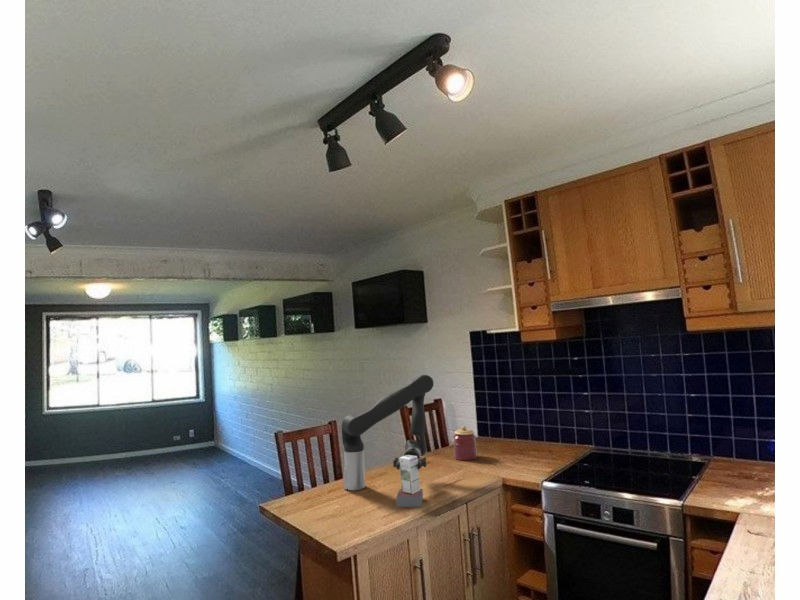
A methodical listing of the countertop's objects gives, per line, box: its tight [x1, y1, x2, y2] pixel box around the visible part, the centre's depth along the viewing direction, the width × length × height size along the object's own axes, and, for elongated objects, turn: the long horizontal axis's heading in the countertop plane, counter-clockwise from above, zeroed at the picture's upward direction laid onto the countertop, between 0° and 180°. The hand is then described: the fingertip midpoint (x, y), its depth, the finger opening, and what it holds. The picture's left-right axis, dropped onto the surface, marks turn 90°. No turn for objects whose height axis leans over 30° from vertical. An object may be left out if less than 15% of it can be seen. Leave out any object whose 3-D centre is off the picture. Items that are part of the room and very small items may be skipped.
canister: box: [452, 425, 478, 461], centre depth 257 cm, size 13×13×18 cm
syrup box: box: [398, 455, 421, 494], centre depth 193 cm, size 6×6×14 cm
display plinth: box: [396, 488, 424, 508], centre depth 192 cm, size 10×10×4 cm
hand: (408, 467), depth 191 cm, fingers open, 8 cm apart
